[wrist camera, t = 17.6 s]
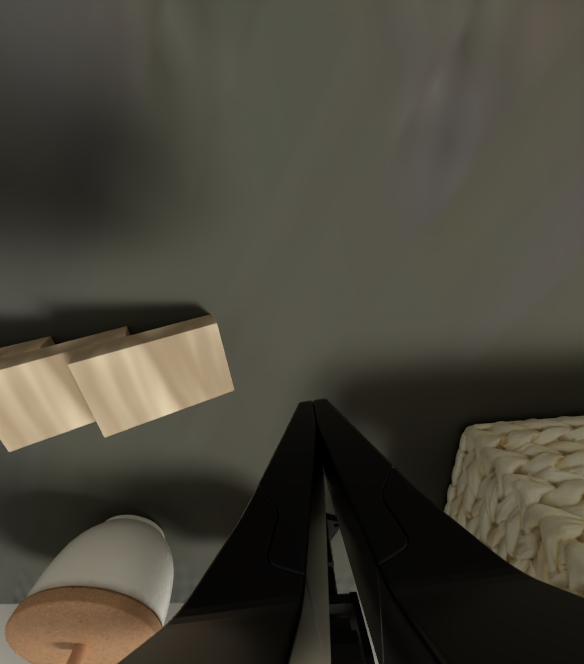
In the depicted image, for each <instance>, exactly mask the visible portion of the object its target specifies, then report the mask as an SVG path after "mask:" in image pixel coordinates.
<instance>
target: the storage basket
mask: <svg viewBox="0 0 584 664" xmlns="http://www.w3.org/2000/svg"><path fill="white" fill-rule="evenodd" d="M444 512H445V513H446V514H448V515H449V516H450V517H451V518H453V519H454V520H455V521H456V522H458V523H459V524H460V525H461V526H463V527H464V528H465V529H466V530H467V531H469V532H470V533H471V534H472V535H474V536H475V537H476V538H477V539H479V540H480V541H481V542H482V543H484V544H485V545H486V546H487V547H489V548H490V549H491V550H492V551H493V552H495V553H496V554H497V555H499V556H500V557H501V558H503V559H504V560H505V561H507V562H508V563H510V564H511V565H513V566H514V567H516V568H517V569H519V570H521V571H522V572H524V573H526V574H528V575H530V576H532V577H534V578H536V579H538V580H540V581H543V582H545V583H548V584H550V585H553V586H555V587H558V588H561V589H563V590H566V591H568V592H571V593H573V594H576V595H579V596H581V597H584V416H575V417H569V416H561V417H558V418H550V419H527V420H526V421H510V422H504V421H499V422H495V423H484V424H474V425H472V426H468V427H467V428H466V429H465V431H464V433H463V434H462V436H461V439H460V445H459V450H458V451H457V454H456V461H455V466H454V468H453V471H452V484H450V485H449V488H448V492H447V504H446V505H445V509H444Z"/></svg>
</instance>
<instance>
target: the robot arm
mask: <svg viewBox="0 0 584 664" xmlns="http://www.w3.org/2000/svg"><path fill="white" fill-rule="evenodd" d="M313 405H314V406H313ZM321 456H322V457H321ZM322 462H323V463H322ZM323 468H324V471H323ZM324 474H325V478H326V482H327V485H328V489H329V492H330V496H331V499H332V503H333V506H334V510H335V513H336V517H337V518H336V517H332V516H328V515H326V508H325V482H324ZM339 528H340V530H341V534H342V537H343V541H344V544H345V548H346V551H347V555H348V558H349V562H350V565H351V569H352V572H353V576H354V579H355V583H356V586H357V590H358V593H359V596H360V600H361V603H362V607H363V610H364V614H365V617H366V621H367V624H368V628H369V631H370V634H371V638H372V642H373V645H374V649H375V652H376V656H377V659H378V662H379V664H584V597H581V596H579V595H576V594H573V593H571V592H568V591H566V590H563V589H561V588H558V587H555V586H553V585H550V584H548V583H545V582H543V581H540V580H538V579H536V578H534V577H532V576H530V575H528V574H526V573H524V572H522V571H521V570H519V569H517V568H516V567H514V566H513V565H511V564H510V563H508V562H507V561H505V560H504V559H503V558H501V557H500V556H499V555H497V554H496V553H495V552H493V551H492V550H491V549H490V548H489V547H487V546H486V545H485V544H484V543H482V542H481V541H480V540H479V539H477V538H476V537H475V536H474V535H472V534H471V533H470V532H469V531H467V530H466V529H465V528H464V527H463V526H461V525H460V524H459V523H458V522H456V521H455V520H454V519H453V518H451V517H450V516H449V515H448V514H446V513H445V512H444V511H443V510H441V509H440V508H439V507H438V506H437V505H435V504H434V503H433V502H432V501H431V500H430V499H428V498H427V497H426V496H425V495H424V494H422V493H421V492H420V491H419V490H418V489H417V488H416V487H415V486H414V485H413V484H412V483H411V482H410V481H408V480H407V479H406V478H405V477H404V476H403V475H402V474H401V473H400V472H399V471H398V470H397V469H396V468H395V467H393V465H392V464H391V463H390V462H389V461H388V460H387V459H386V458H385V457H384V456H383V455H382V454H381V453H380V452H379V451H378V450H377V449H376V448H375V447H374V446H373V445H372V444H371V443H370V442H369V441H368V440H367V439H366V438H365V437H364V436H363V435H362V434H361V433H360V432H359V431H358V430H357V429H356V428H355V427H354V426H353V425H352V424H351V423H350V422H349V421H348V420H347V419H346V418H345V417H344V416H343V415H342V414H341V413H340V412H339V411H338V410H337V409H336V408H335V407H334V406H333V405H332V404H331V403H330V402H329V401H328V400H327V399H318V400H314V401H313V402H312V401H304V402H300V403H299V404H298V406H297V408H296V410H295V412H294V414H293V416H292V418H291V420H290V422H289V424H288V426H287V428H286V430H285V432H284V434H283V436H282V438H281V440H280V442H279V444H278V446H277V448H276V450H275V452H274V454H273V456H272V458H271V460H270V462H269V464H268V466H267V468H266V470H265V472H264V474H263V476H262V478H261V480H260V482H259V484H258V487H256V489H255V491H254V493H253V496H252V498H251V500H250V501H249V503H248V505H247V507H246V509H245V511H244V512H243V514H242V516H241V518H240V519H239V521H238V523H237V524H236V526H235V528H234V529H233V531H232V532H231V534H230V536H229V537H228V539H227V540H226V542H225V543H224V545H223V546H222V548H221V550H220V551H219V553H218V554H217V556H216V557H215V559H214V560H213V562H212V563H211V565H210V566H209V568H208V570H207V571H206V573H205V574H204V576H203V577H202V579H201V580H200V582H199V583H198V585H197V586H196V588H195V590H194V591H193V593H192V594H191V595H190V597H189V598H188V600H187V601H186V602H185V604H184V605H183V606H182V608H181V609H180V610H179V611H178V613H177V614H176V615H175V616H174V617H173V618H172V619H171V620H170V621H169V622H168V623H167V624H166V625H165V626H164V627H163V628H162V629H161V630H159V631H158V632H157V633H156V634H154V635H153V636H152V637H150V638H149V639H148V640H147V641H145V642H144V643H143V644H142V645H140V646H139V647H138V648H136V649H135V650H134V651H133V652H131V653H130V654H129V655H128V656H126V657H125V658H124V659H122V660H121V661H120V662H119V663H117V664H375V662H374V657H373V653H372V649H371V645H370V642H369V637H368V634H367V630H366V626H365V623H364V619H363V615H362V611H361V607H360V604H359V600H358V596H357V592H349V594H337V587H336V580H335V573H334V562H333V555H332V548H331V542H330V541H331V540H332V538H333V537H334V536H335V534H336V533H337V531H338V530H339Z"/></svg>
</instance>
